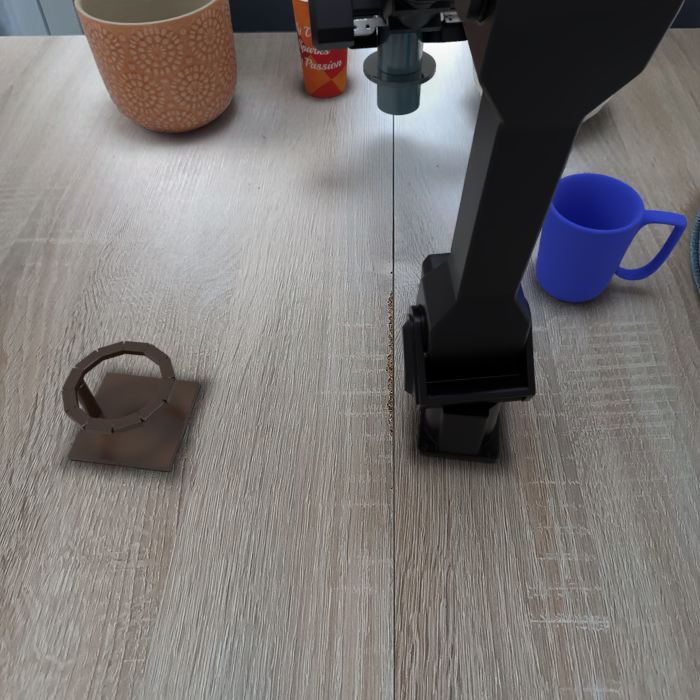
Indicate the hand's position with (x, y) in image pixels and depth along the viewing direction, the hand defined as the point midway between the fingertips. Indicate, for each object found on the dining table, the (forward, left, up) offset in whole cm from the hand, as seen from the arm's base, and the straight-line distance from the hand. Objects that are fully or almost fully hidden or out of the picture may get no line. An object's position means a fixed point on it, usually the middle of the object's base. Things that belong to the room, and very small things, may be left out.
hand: (398, 39), depth 69 cm
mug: (-21, -21, -14) cm, 33 cm away
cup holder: (-42, +18, -13) cm, 47 cm away
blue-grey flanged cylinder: (-1, 0, -7) cm, 7 cm away
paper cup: (+13, +11, -14) cm, 22 cm away
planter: (+5, +29, -14) cm, 32 cm away
